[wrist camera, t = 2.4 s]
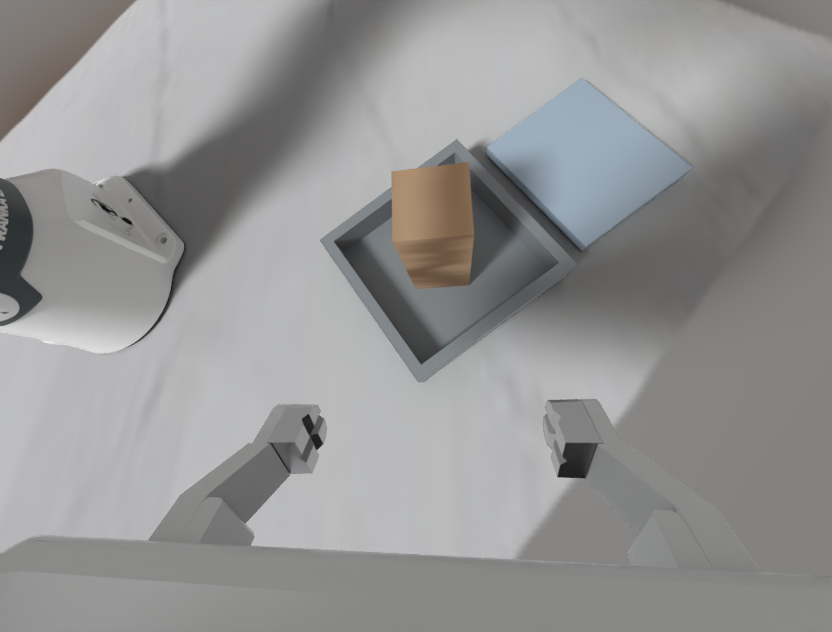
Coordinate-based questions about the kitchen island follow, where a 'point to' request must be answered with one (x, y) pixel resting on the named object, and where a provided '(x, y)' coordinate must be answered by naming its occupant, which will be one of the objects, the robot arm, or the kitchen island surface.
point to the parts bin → (459, 305)
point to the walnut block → (434, 224)
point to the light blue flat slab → (586, 162)
